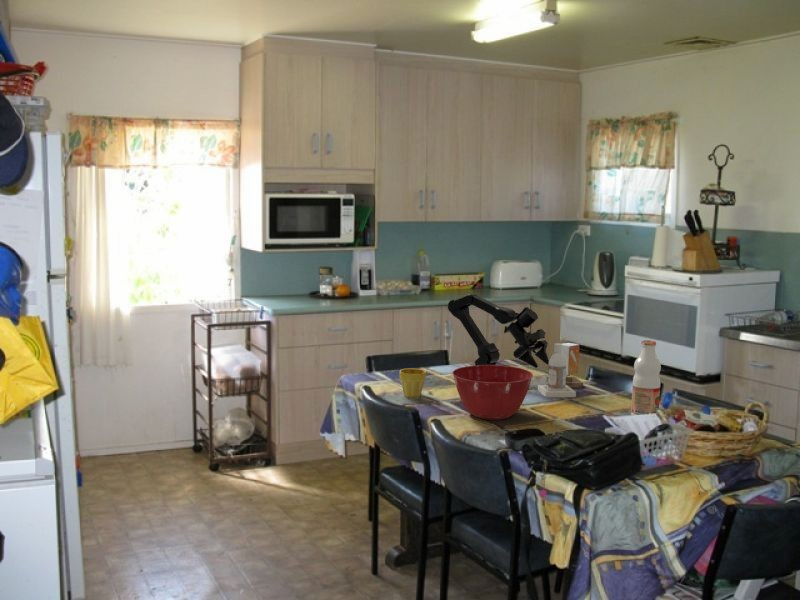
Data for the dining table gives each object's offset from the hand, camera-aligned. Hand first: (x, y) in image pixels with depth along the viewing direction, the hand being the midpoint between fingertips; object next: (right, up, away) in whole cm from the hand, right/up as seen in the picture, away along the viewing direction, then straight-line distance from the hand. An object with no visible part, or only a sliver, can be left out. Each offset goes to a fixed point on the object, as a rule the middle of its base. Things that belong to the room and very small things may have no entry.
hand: (543, 365), depth 334 cm
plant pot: (-53, -11, -11) cm, 55 cm away
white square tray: (+5, -11, -3) cm, 12 cm away
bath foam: (+5, -11, -3) cm, 12 cm away
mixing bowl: (-25, -15, -37) cm, 47 cm away
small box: (+17, -6, +36) cm, 41 cm away
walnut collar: (+11, -9, +14) cm, 20 cm away
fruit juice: (+29, -16, -38) cm, 51 cm away
